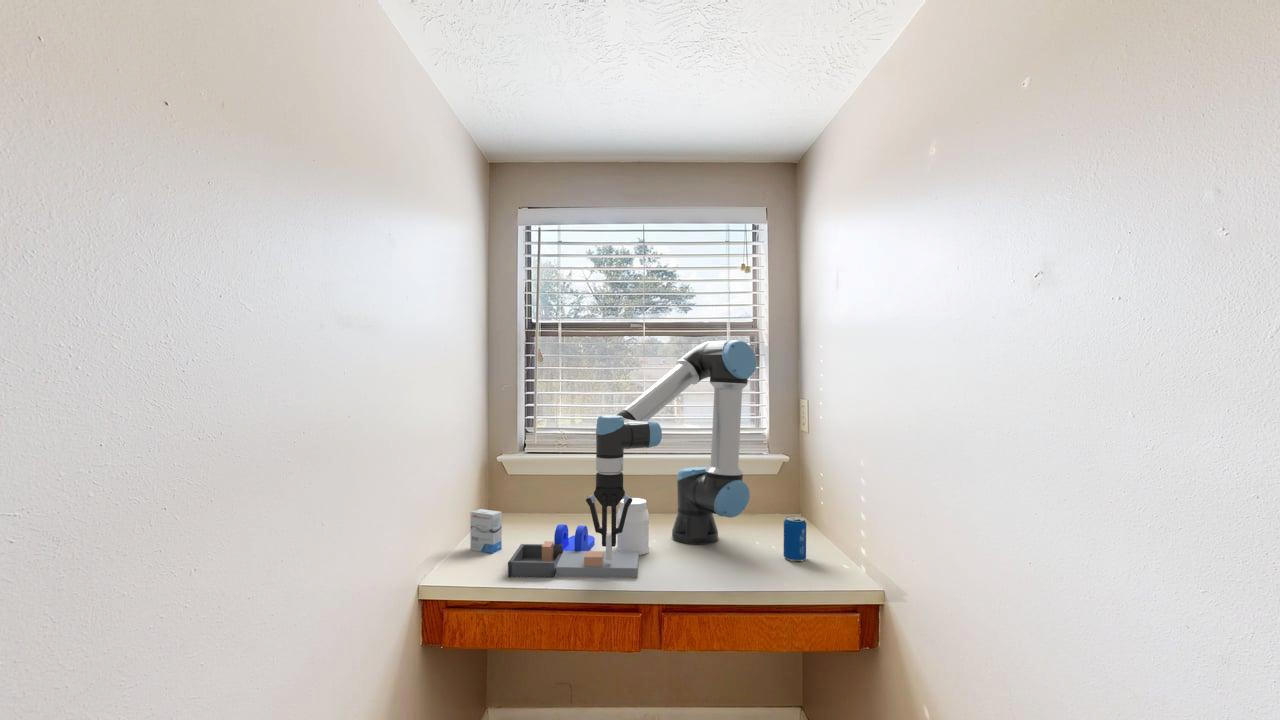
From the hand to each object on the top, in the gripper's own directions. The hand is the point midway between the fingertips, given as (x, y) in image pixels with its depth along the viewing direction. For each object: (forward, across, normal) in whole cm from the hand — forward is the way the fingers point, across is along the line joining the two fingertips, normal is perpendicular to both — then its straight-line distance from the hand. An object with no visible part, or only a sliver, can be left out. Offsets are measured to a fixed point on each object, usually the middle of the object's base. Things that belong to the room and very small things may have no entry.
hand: (608, 557), depth 166 cm
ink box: (+4, +39, -19) cm, 43 cm away
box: (+4, +20, -4) cm, 21 cm away
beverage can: (+4, -54, -13) cm, 56 cm away
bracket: (+5, +11, -20) cm, 24 cm away
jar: (+4, -6, -21) cm, 22 cm away
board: (+4, +3, -4) cm, 6 cm away
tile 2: (+2, +4, 0) cm, 4 cm away
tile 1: (+1, +17, -7) cm, 18 cm away
